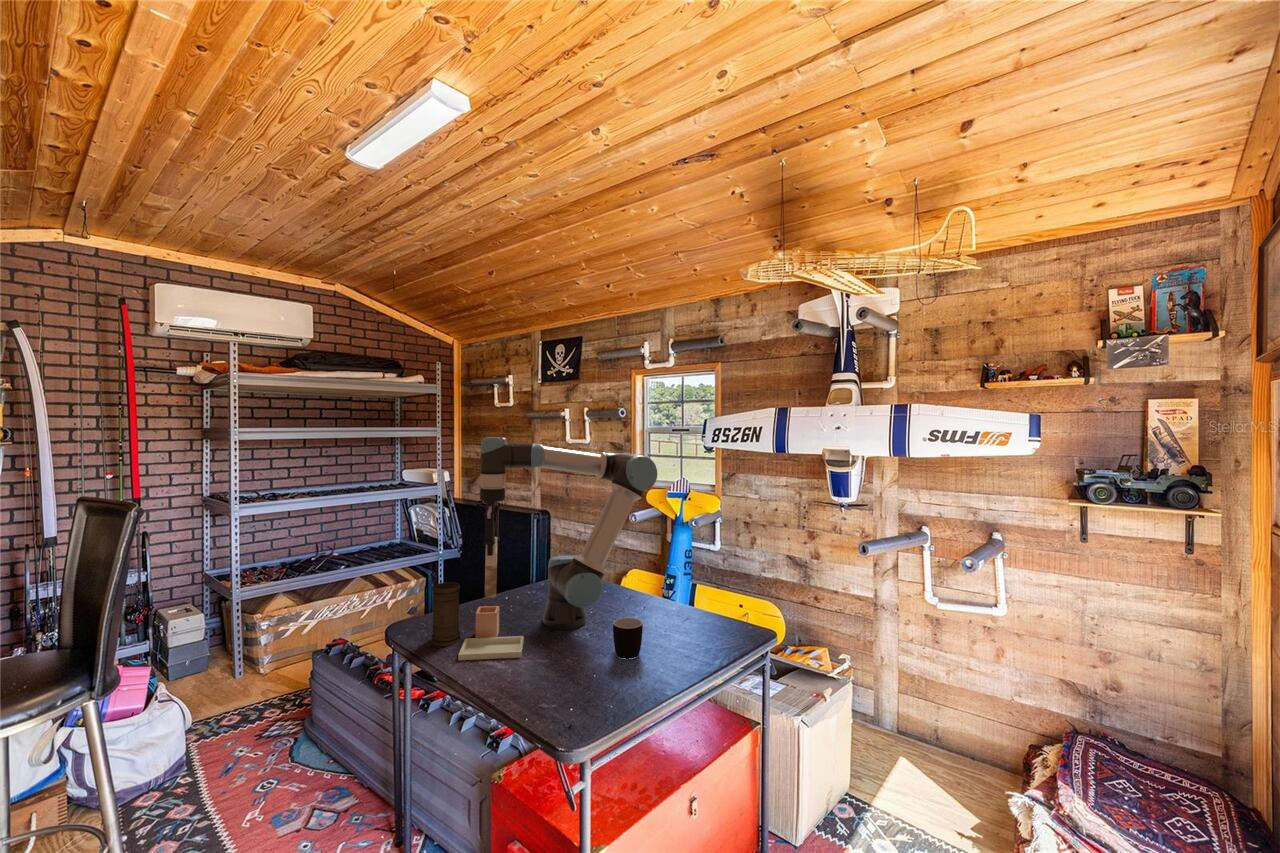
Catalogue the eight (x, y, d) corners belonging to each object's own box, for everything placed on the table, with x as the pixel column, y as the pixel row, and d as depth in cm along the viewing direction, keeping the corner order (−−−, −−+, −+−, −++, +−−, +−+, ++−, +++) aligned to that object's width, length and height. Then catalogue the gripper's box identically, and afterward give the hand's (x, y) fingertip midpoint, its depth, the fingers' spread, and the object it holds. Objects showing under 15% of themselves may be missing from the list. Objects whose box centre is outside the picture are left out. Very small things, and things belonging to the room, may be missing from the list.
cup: (498, 632, 185) (499, 605, 184) (496, 640, 178) (496, 612, 178) (478, 633, 184) (478, 606, 184) (475, 641, 177) (475, 613, 177)
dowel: (496, 594, 172) (498, 536, 172) (495, 597, 169) (496, 538, 168) (485, 594, 172) (486, 536, 172) (483, 598, 168) (484, 538, 168)
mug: (648, 657, 167) (648, 624, 167) (623, 665, 162) (623, 630, 162) (626, 644, 177) (626, 612, 177) (602, 650, 172) (602, 618, 171)
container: (451, 648, 172) (451, 590, 171) (425, 646, 173) (425, 588, 173) (466, 637, 180) (466, 582, 180) (441, 635, 182) (441, 580, 182)
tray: (523, 642, 177) (523, 636, 177) (521, 659, 165) (521, 651, 165) (465, 645, 174) (465, 638, 174) (458, 662, 162) (458, 654, 162)
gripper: (484, 484, 178) (483, 557, 178) (474, 490, 161) (473, 571, 162) (508, 484, 178) (507, 557, 179) (501, 490, 162) (499, 571, 162)
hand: (491, 563), depth 170 cm, fingers closed on dowel, 3 cm apart
